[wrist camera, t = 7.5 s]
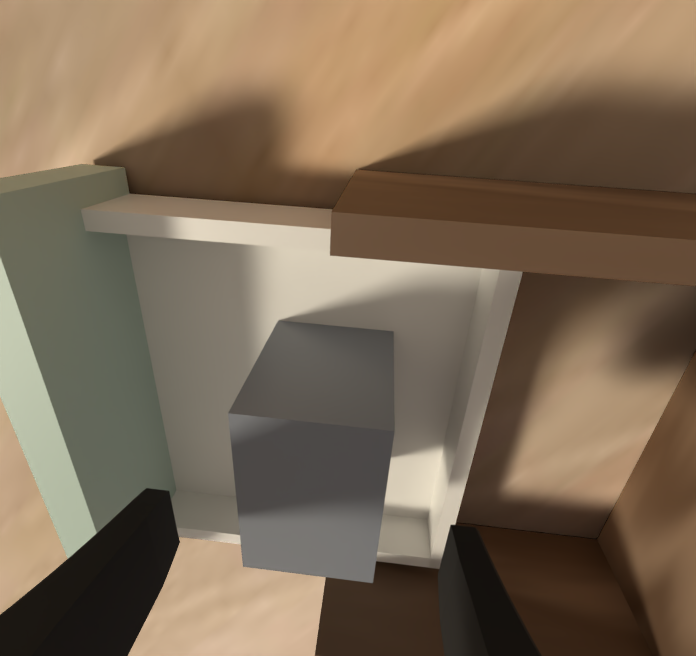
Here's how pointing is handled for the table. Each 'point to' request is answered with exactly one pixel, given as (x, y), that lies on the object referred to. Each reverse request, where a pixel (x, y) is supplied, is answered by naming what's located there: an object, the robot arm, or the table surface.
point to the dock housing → (648, 475)
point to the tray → (218, 349)
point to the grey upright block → (314, 450)
